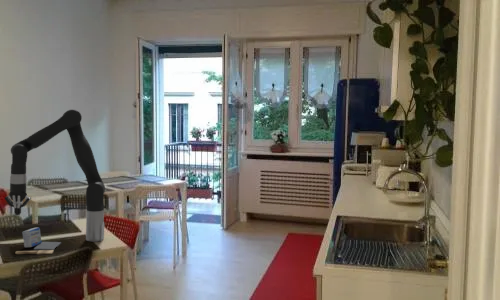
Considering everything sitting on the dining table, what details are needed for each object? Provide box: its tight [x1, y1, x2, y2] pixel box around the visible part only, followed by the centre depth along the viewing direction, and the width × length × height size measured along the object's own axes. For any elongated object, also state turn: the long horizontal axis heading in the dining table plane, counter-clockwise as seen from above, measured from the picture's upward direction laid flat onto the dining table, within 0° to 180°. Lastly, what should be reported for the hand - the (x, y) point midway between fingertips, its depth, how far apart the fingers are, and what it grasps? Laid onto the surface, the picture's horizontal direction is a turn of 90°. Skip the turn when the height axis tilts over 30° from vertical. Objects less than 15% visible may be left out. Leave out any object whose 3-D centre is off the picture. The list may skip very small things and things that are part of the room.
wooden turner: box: [14, 249, 55, 255], centre depth 214 cm, size 17×4×1 cm, turn 106°
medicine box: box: [21, 227, 43, 248], centre depth 224 cm, size 8×4×9 cm, turn 168°
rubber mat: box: [33, 241, 62, 251], centre depth 225 cm, size 10×12×1 cm
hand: (17, 214), depth 222 cm, fingers closed
